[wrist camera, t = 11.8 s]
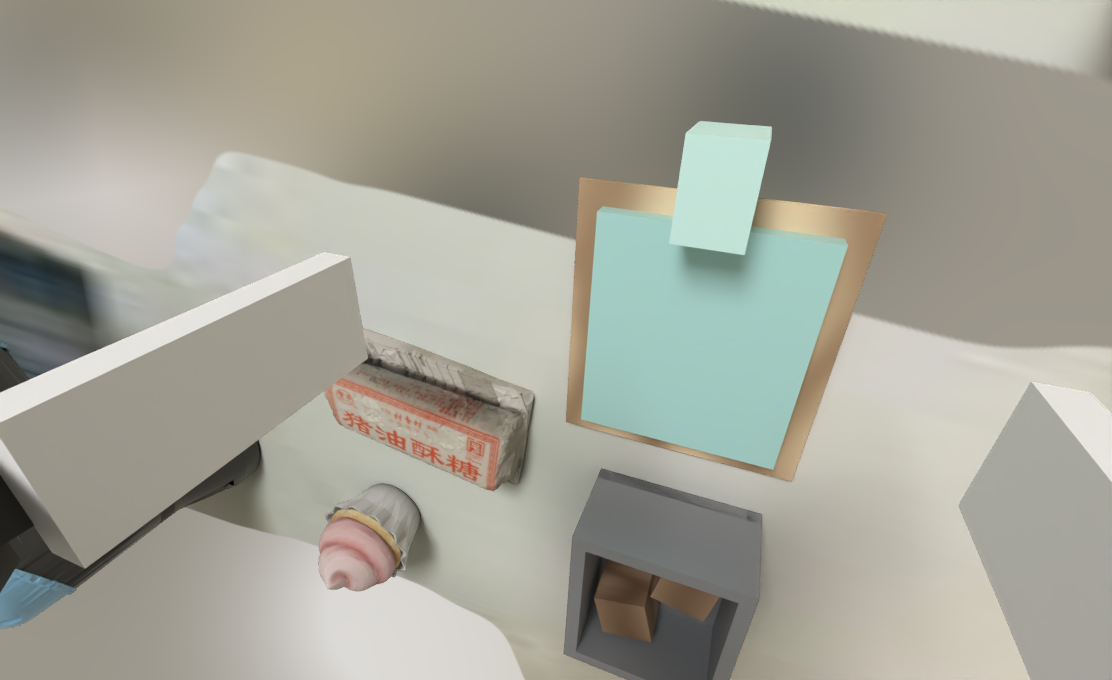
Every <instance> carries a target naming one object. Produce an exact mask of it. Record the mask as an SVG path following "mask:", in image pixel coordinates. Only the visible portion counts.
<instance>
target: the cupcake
mask: <svg viewBox="0 0 1112 680" xmlns="http://www.w3.org/2000/svg"><path fill="white" fill-rule="evenodd" d="M325 516H326V519H327V521H328V523H329V524H328V525H327V526H326V527H325V529H324V530H323V532H322V534H321V537H320V542H319V551H320V557H319V562H318V565H319V573H320V576H321V578H322V580H323V581H324V583H325V584H326V587H327V588H328V589H330V590H336V589H340V588H342V587H346V588H347V589H349V590H353V591H363V590H366V589H368V588H370V587H371V586H374V585H376V584H380V583H383V582H385V581H387V580H388V579H389V578H390V577H395V576H396V573H397V570H401V571H404V570H406V565H407V558H408V551H409V548H410V546H411V543H412V540H413V538H414V535H415V533H416V531H417V529H418V526H419V523H420V515H419V511H418V508H417V507H416V505H415V504H414V502H413V501H412V500H411V499H410V498H409V496H408V495H406V494H405V493H404V492H402V491H401V490H399V489H398V488H396V487H394V486H391V485H387V484H377V485H374V486H371V487H370V488H368V489H367V490H365V491H364V492H362V493H361V494H359V495H358V496H356V497H354V498H353V499H351V500H348V501H345V502H342V503H339V504H336V505H334V506H333V511H331V512H329V513H327V514H326V515H325Z"/></svg>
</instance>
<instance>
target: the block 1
mask: <svg viewBox="0 0 1112 680" xmlns="http://www.w3.org/2000/svg"><path fill="white" fill-rule="evenodd" d="M654 579H655V575H653V574H650V573H647V572H645V571H642V570H639V569H636V568H633V567H630V566H627V565H624V564H621V563H618V562H615V561H612V560H609V559H607V561H606V564H605V567H604V570H603V573H602V576H601V579H600V582H599V584H598V587H597V590H596V593H595V596H594V600H595V604H596V608H597V612H598V615H599V619H600V623H601V627H602V631H603V632H606V633H610V634H615V635H620V636H624V637H629V638H634V639H638V640H643V641H648V642H652V637H653V633H654V628H655V623H656V619H657V614H658V609H659V604H660V601H658V600H656V599H654V598H652V597H650V596H651V592H652V587H653V583H654Z"/></svg>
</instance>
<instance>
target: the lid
mask: <svg viewBox="0 0 1112 680" xmlns="http://www.w3.org/2000/svg"><path fill="white" fill-rule="evenodd" d="M771 132H772V127H766V126H755V125H741V124H729V123H716V122H704V121H700V122H698V123H697V124H696V125H695V126H694V127H692V128H691V129H690V130H689V131H688V132H687V133H686V136H685V143H684V149H683V155H682V162H681V169H680V175H679V182H678V188H677V195H676V201H675V208H674V214H673V216H672V215H664V214H657V213H649V212H642V211H635V210H627V209H620V208H612V207H605V206H603V207H602V208H600V209H599V210H598V211H597V219H596V232H595V245H594V258H593V271H592V284H591V297H590V310H589V323H588V336H587V349H586V362H585V375H584V388H583V401H582V414H581V420H585V421H589V422H593V423H597V424H600V425H604V426H608V427H612V428H616V429H619V430H623V431H627V432H631V433H635V434H639V435H642V436H646V437H650V438H654V439H658V440H661V441H665V442H669V443H673V444H677V445H680V446H684V447H688V448H692V449H696V450H699V451H703V452H707V453H711V454H715V455H719V456H722V457H726V458H730V459H734V460H738V461H741V462H745V463H749V464H753V465H757V466H760V467H764V468H768V469H772V470H773V469H774V466H775V463H776V460H777V457H778V454H779V451H780V448H781V445H782V442H783V440H784V437H785V434H786V431H787V428H788V425H789V422H790V419H791V416H792V413H793V410H794V407H795V404H796V401H797V398H798V395H799V392H800V389H801V386H802V383H803V380H804V377H805V374H806V371H807V368H808V365H809V362H810V359H811V356H812V353H813V350H814V347H815V344H816V341H817V338H818V335H819V332H820V329H821V326H822V323H823V320H824V317H825V314H826V311H827V308H828V305H829V302H830V299H831V296H832V293H833V290H834V287H835V284H836V281H837V278H838V275H839V272H840V269H841V266H842V263H843V260H844V257H845V254H846V251H847V248H848V244H847V242H846V239H843V238H836V237H828V236H821V235H813V234H806V233H799V232H791V231H784V230H776V229H769V228H761V227H754V226H751V225H752V221H753V217H754V212H755V208H756V204H757V199H758V195H759V191H760V186H761V182H762V178H763V174H764V169H765V165H766V160H767V156H768V152H769V148H770V143H771V134H772V133H771Z"/></svg>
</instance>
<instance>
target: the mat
mask: <svg viewBox="0 0 1112 680" xmlns="http://www.w3.org/2000/svg"><path fill="white" fill-rule="evenodd" d="M676 195H677V188H668V187H660V186H651V185H642V184H634V183H625V182H616V181H608V180H599V179H590V178H580V182H579V200H578V216H577V217H578V218H577V235H576V252H575V270H574V288H573V306H572V324H571V341H570V359H569V377H568V395H567V413H566V422H568V423H572V424H576V425H580V426H583V427H587V428H591V429H595V430H599V431H602V432H606V433H610V434H614V435H617V436H621V437H625V438H629V439H633V440H636V441H640V442H644V443H648V444H652V445H655V446H659V447H663V448H667V449H670V450H674V451H678V452H682V453H686V454H689V455H693V456H697V457H701V458H705V459H708V460H712V461H716V462H720V463H723V464H727V465H731V466H735V467H739V468H742V469H746V470H750V471H754V472H757V473H761V474H765V475H769V476H773V477H776V478H780V479H784V480H788V481H792V479H793V476H794V473H795V470H796V468H797V465H798V462H799V459H800V457H801V454H802V451H803V448H804V445H805V443H806V440H807V437H808V434H809V431H810V429H811V426H812V423H813V420H814V418H815V415H816V412H817V409H818V406H819V404H820V401H821V398H822V395H823V392H824V390H825V387H826V384H827V381H828V379H829V376H830V373H831V370H832V367H833V365H834V362H835V359H836V356H837V353H838V351H839V348H840V345H841V342H842V340H843V337H844V334H845V331H846V328H847V326H848V323H849V320H850V317H851V314H852V312H853V309H854V306H855V303H856V301H857V297H858V295H859V292H860V289H861V287H862V283H863V281H864V278H865V275H866V273H867V270H868V267H869V264H870V262H871V258H872V256H873V253H874V250H875V247H876V245H877V242H878V239H879V236H880V233H881V231H882V228H883V225H884V222H885V220H886V217H887V214H886V213H883V212H874V211H865V210H857V209H848V208H839V207H832V206H823V205H814V204H806V203H797V202H789V201H780V200H771V199H763V198H758V199H757V204H756V208H755V212H754V217H753V221H752V225H751V226H754V227H761V228H769V229H776V230H784V231H791V232H799V233H806V234H813V235H821V236H828V237H836V238H843V239H846V242H847V244H848V248H847V251H846V254H845V257H844V260H843V263H842V266H841V269H840V272H839V275H838V278H837V281H836V284H835V287H834V290H833V293H832V296H831V299H830V302H829V305H828V308H827V311H826V314H825V317H824V320H823V323H822V326H821V329H820V332H819V335H818V338H817V341H816V344H815V347H814V350H813V353H812V356H811V359H810V362H809V365H808V368H807V371H806V374H805V377H804V380H803V383H802V386H801V389H800V392H799V395H798V398H797V401H796V404H795V407H794V410H793V413H792V416H791V419H790V422H789V425H788V428H787V431H786V434H785V437H784V440H783V442H782V445H781V448H780V451H779V454H778V457H777V460H776V463H775V466H774V469H773V470H772V469H768V468H764V467H760V466H757V465H753V464H749V463H745V462H741V461H738V460H734V459H730V458H726V457H722V456H719V455H715V454H711V453H707V452H703V451H699V450H696V449H692V448H688V447H684V446H680V445H677V444H673V443H669V442H665V441H661V440H658V439H654V438H650V437H646V436H642V435H639V434H635V433H631V432H627V431H623V430H619V429H616V428H612V427H608V426H604V425H600V424H597V423H593V422H589V421H585V420H581V414H582V401H583V388H584V375H585V362H586V349H587V336H588V323H589V310H590V297H591V284H592V271H593V258H594V245H595V232H596V219H597V211H598V210H599V209H600V208H602V207H603V206H605V207H612V208H620V209H627V210H635V211H642V212H649V213H657V214H664V215H672V216H673V214H674V208H675V201H676Z"/></svg>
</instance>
